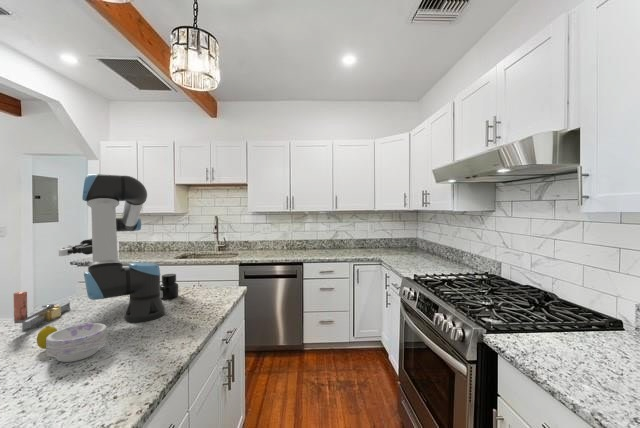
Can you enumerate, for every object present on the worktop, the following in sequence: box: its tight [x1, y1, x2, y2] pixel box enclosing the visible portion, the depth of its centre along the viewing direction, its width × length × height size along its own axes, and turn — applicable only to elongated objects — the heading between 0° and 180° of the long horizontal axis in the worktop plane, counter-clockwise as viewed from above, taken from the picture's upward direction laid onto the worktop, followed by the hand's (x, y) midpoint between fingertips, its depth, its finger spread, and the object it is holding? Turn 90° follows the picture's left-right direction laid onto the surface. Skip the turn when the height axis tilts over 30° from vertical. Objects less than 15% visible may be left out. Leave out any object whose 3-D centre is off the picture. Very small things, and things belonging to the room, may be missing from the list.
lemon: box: [36, 325, 59, 350], centre depth 101 cm, size 6×6×8 cm
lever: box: [12, 291, 55, 324], centre depth 122 cm, size 20×4×11 cm, turn 14°
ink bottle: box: [160, 273, 179, 301], centre depth 159 cm, size 10×9×12 cm
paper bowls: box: [45, 322, 108, 363], centre depth 97 cm, size 15×15×8 cm
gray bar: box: [21, 302, 71, 331], centre depth 130 cm, size 6×24×4 cm, turn 11°
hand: (60, 253), depth 129 cm, fingers closed
